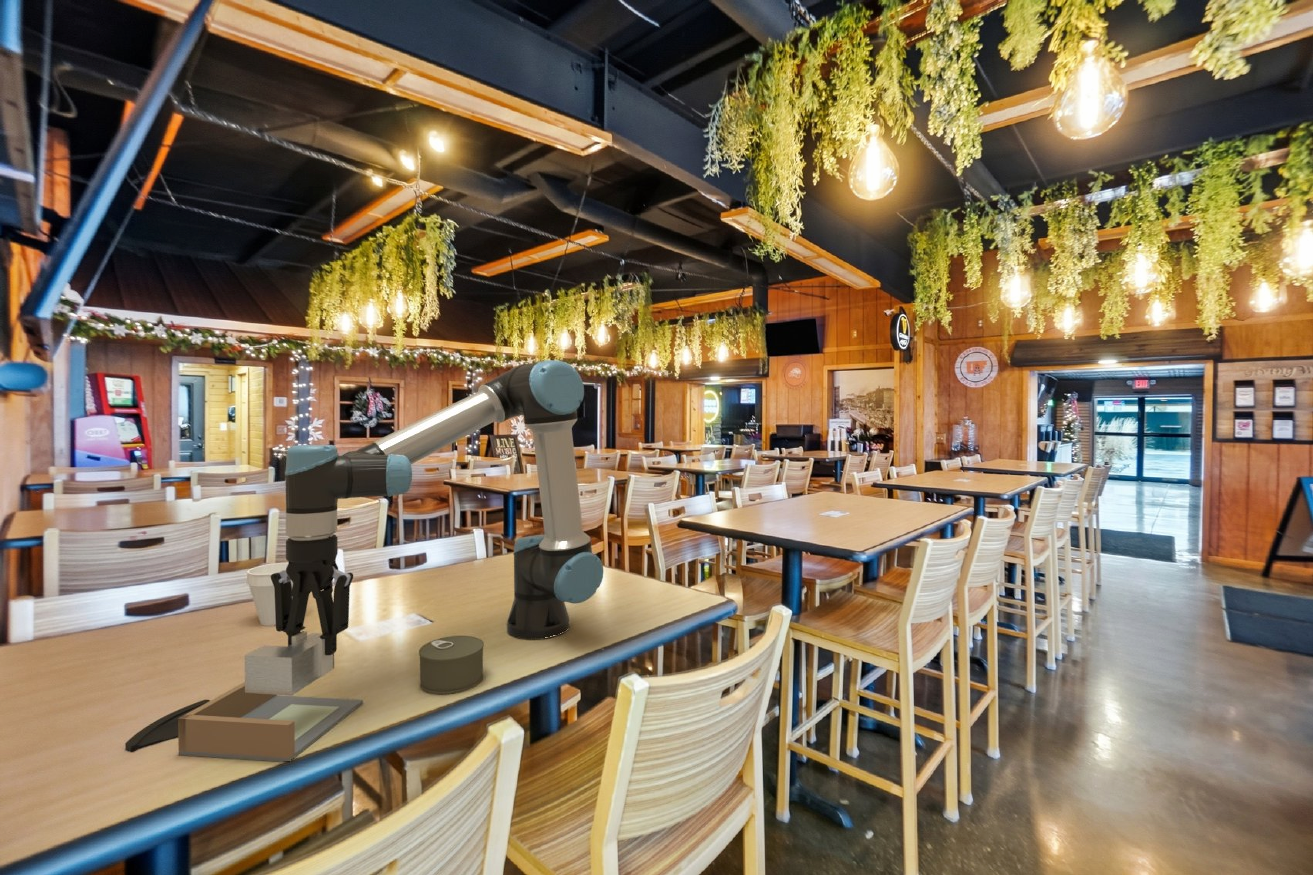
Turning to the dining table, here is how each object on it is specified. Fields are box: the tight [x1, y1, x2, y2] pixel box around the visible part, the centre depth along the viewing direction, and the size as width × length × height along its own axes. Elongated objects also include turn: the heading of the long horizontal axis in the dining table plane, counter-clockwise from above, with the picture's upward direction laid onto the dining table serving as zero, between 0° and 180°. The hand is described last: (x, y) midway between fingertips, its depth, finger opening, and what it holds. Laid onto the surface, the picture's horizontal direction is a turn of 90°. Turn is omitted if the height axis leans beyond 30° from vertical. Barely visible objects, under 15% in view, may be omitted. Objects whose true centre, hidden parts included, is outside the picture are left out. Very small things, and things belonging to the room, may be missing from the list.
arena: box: [177, 681, 364, 762], centre depth 94 cm, size 18×18×6 cm
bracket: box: [244, 632, 335, 696], centre depth 94 cm, size 10×8×6 cm
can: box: [418, 635, 485, 696], centre depth 111 cm, size 12×12×7 cm
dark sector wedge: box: [124, 699, 211, 753], centre depth 94 cm, size 8×14×2 cm, turn 157°
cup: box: [246, 561, 293, 627], centre depth 145 cm, size 12×12×14 cm
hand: (312, 672), depth 97 cm, fingers closed on bracket, 4 cm apart
